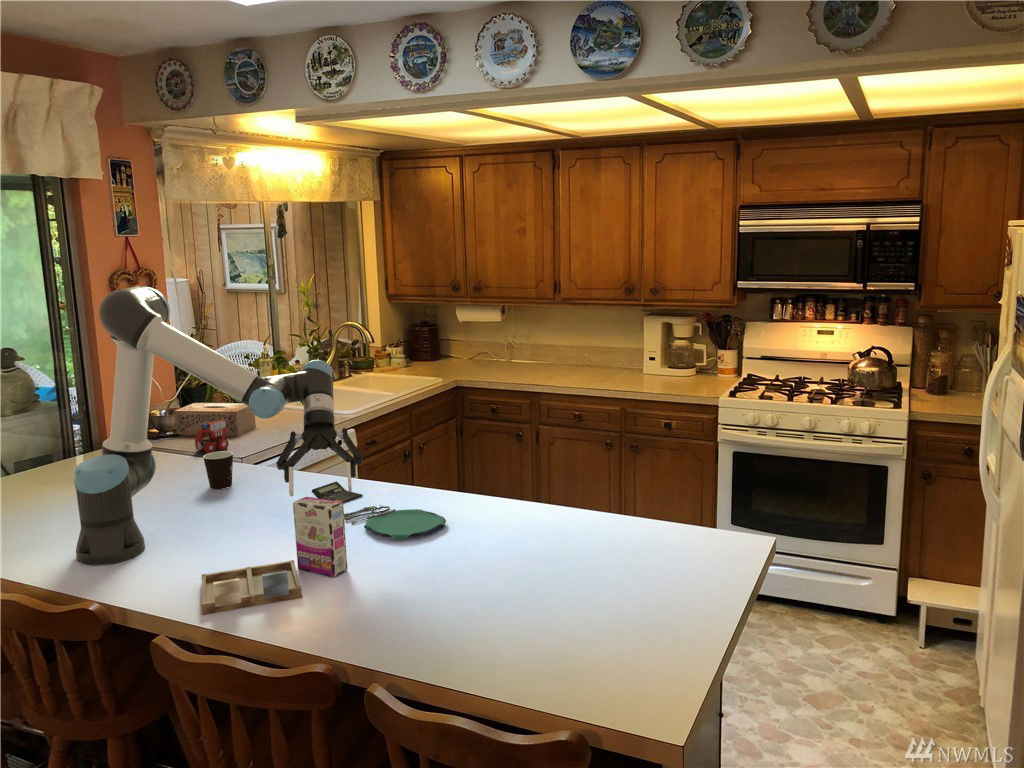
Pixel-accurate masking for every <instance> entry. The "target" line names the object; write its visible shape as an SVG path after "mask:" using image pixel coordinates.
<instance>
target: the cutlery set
mask: <svg viewBox="0 0 1024 768" xmlns="http://www.w3.org/2000/svg"><path fill="white" fill-rule="evenodd" d="M381 505H382V504H381ZM375 506H376V505H372V506H371V505H370V506H368V507H367V506H363V508H361V509H359V510H355V511H352V512H347V513H344V522H345V521H347V522H349V521H351V520H353V519H356V518H359V517H362V516H366V517H363V518H362V519H359V520H356V521H351V525H352V526H354V524H356V523H359V522H362V521H365V520H366V522H365V524H364V527H363V528H364V529H365V530H368V532H370V533H372V534H374V535H377V536H380V537H381V536H382V537H387V538H392V539H393V540H396V541H397V540H407V539H408V538H411V537H419V536H422V535H425V534H429V533H431V532H434V531H436V530H438V529H439V528H440V527H441V526H442V525H443V528H445V526H446V522H447V519H446V517H444V516H443V515H440V514H437V513H435V512H431V511H427V510H424V509H417V508H416V509H415V508H414V509H409V508H408V509H397V510H396V509H395V508H394V509H391V510H389V509H390V506H389V505H387V506H383V505H382V507H379V508H377V507H375ZM374 508H375V509H374ZM380 508H388V509H383V510H381V509H380ZM371 509H373V510H371ZM376 509H378V510H379V511H377V510H376ZM366 510H367V511H368V510H370V511H371V512H370V511H369V512H367V511H366ZM374 510H376V511H374ZM373 511H374V512H373ZM359 512H360V513H359ZM361 512H364V513H361ZM379 512H381V513H379ZM356 513H357V514H356ZM371 513H372V514H371ZM353 514H354V515H353ZM349 515H351V516H349ZM367 515H368V516H367Z"/></svg>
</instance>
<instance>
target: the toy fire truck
mask: <svg viewBox="0 0 1024 768" xmlns="http://www.w3.org/2000/svg"><path fill="white" fill-rule="evenodd" d="M226 427H227V422H226V420H220V421H215V422H211V423H208V424H202V425H201V428H202V429H199V430H198V433H197V435H195V436H196V437H195V438H194V444H195V445H194V446H195V449H196V450H197V451H202V452H203V451H204V452H205V453H207V454H208V453H212V452H216V451H215V450H216V448H218V449H219V450H220V451H225V450H227V448H228V447H229V441H228V438H227V437H228V436H227V435H226ZM207 432H208V433H207Z"/></svg>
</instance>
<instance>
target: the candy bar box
mask: <svg viewBox="0 0 1024 768" xmlns="http://www.w3.org/2000/svg"><path fill="white" fill-rule="evenodd" d="M292 508H293V521H294V534H295V545H296V546H295V547H296V560H297V569H298V570H299V571H300V570H301V571H304V572H309V573H313V574H318V575H322V576H323V575H324V576H328V577H331V578H335V577H337V576H339V575H341V574H343V573H344V572H347V570H348V559H347V545H346V543H347V541H346V540H347V539H346V528H345V527H346V526H345V524H346V523H345V517H344V514H345V513H344V512H345V511H344V510H345V509H344V503H343V502H337V501H331V500H325V499H318V498H317V497H311V496H310V497H309V496H305V497H302V498H300V499H298V500H295V501H293V502H292Z"/></svg>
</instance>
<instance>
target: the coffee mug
mask: <svg viewBox="0 0 1024 768" xmlns="http://www.w3.org/2000/svg"><path fill="white" fill-rule="evenodd" d="M233 457H234V453H233V451H225V450H220V451H214V452H212V453H208V452H207V453H206V454H204V455H203V457H202V459H203V462H204V467H205V471H206V475H207V480H208V484H209V488H210V489H211V488H212V490H224V489H223V488H225V489H228V488H227V487H229V488H231V487H232V486H233V468H234V467H233V465H234V464H233V463H234V462H233V461H234V458H233ZM231 485H232V486H231ZM230 486H231V487H230Z"/></svg>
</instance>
